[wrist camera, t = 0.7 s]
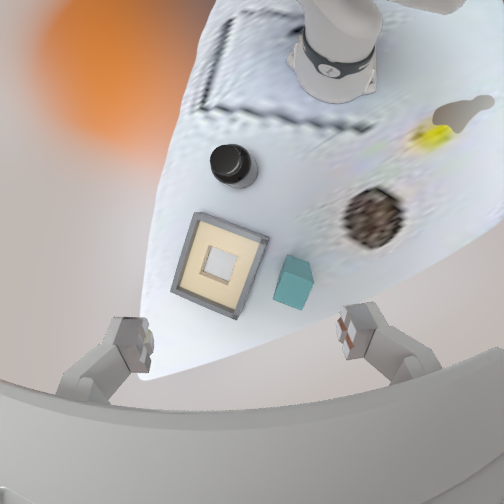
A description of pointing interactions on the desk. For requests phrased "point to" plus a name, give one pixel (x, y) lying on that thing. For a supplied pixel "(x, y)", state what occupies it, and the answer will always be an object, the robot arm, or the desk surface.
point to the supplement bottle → (233, 166)
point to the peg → (294, 283)
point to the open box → (211, 287)
